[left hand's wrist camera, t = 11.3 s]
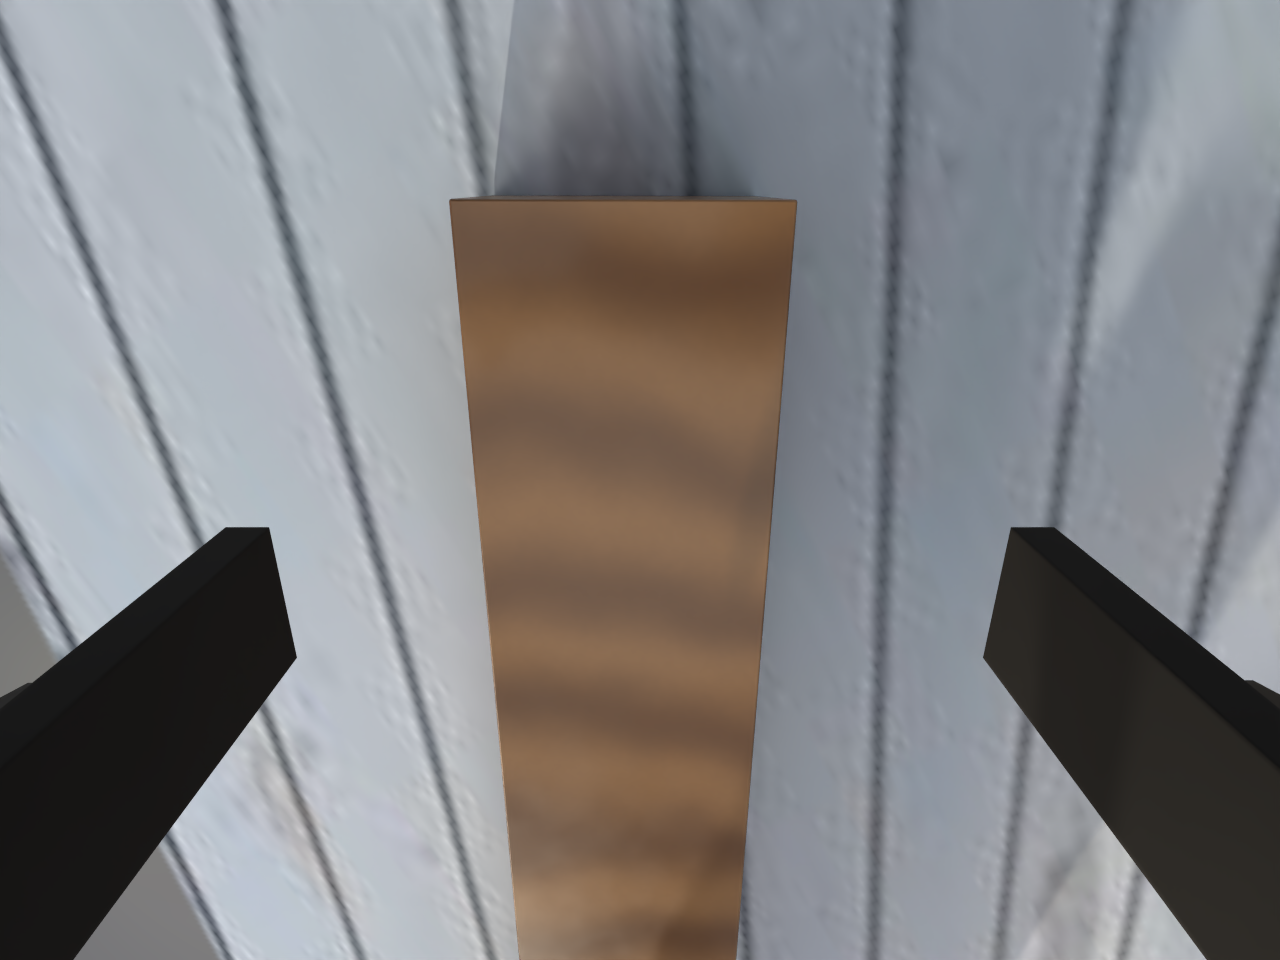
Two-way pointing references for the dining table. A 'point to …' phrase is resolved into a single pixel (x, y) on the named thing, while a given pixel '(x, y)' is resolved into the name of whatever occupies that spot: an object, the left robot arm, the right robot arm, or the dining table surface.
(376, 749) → the dining table surface
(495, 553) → the thick board
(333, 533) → the dining table surface
